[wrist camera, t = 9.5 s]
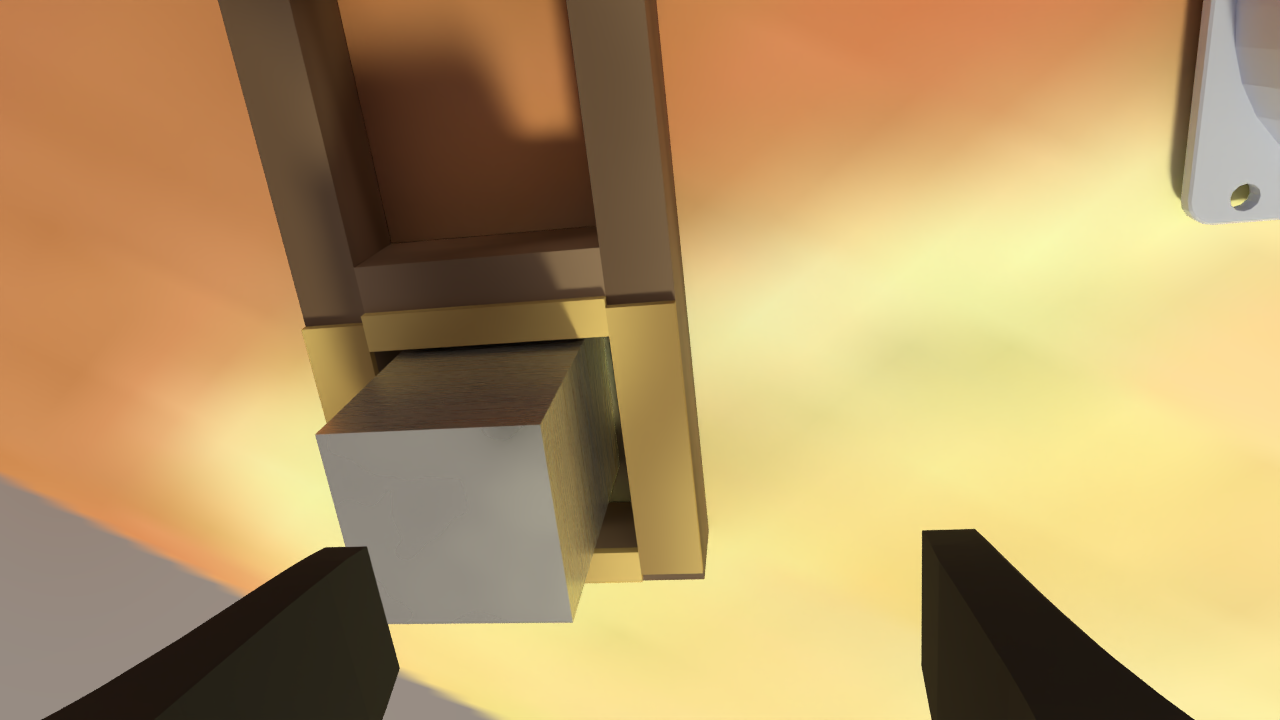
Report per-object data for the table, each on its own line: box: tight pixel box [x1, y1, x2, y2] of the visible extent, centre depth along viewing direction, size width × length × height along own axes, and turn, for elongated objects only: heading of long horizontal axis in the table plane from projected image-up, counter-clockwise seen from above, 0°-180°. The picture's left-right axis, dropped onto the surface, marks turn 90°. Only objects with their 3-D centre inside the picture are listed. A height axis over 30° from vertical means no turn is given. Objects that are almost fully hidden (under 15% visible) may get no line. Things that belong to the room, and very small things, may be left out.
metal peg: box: [315, 337, 620, 624], centre depth 18 cm, size 4×4×6 cm
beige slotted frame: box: [218, 0, 709, 583], centre depth 17 cm, size 8×21×2 cm, turn 7°
